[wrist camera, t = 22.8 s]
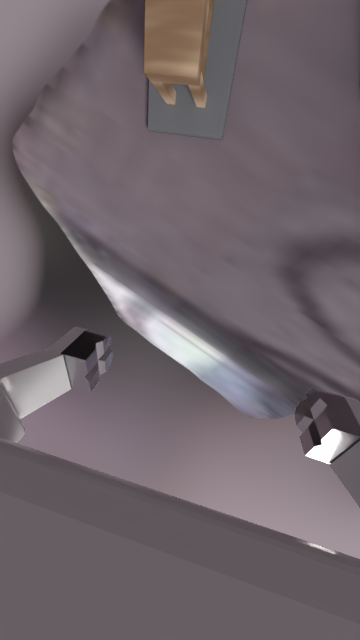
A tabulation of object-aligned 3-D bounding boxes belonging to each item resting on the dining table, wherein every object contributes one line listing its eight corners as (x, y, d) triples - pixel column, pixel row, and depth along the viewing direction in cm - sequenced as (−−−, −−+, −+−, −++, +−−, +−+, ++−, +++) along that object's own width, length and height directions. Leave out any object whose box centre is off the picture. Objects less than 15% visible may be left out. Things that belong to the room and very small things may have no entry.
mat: (222, 139, 30) (221, 138, 29) (149, 131, 31) (147, 129, 30) (258, -66, 21) (259, -74, 20) (155, -68, 22) (152, -76, 21)
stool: (196, 77, 20) (220, -128, 15) (143, 72, 21) (147, -127, 15) (205, 107, 28) (223, -21, 22) (166, 103, 28) (174, -23, 23)
